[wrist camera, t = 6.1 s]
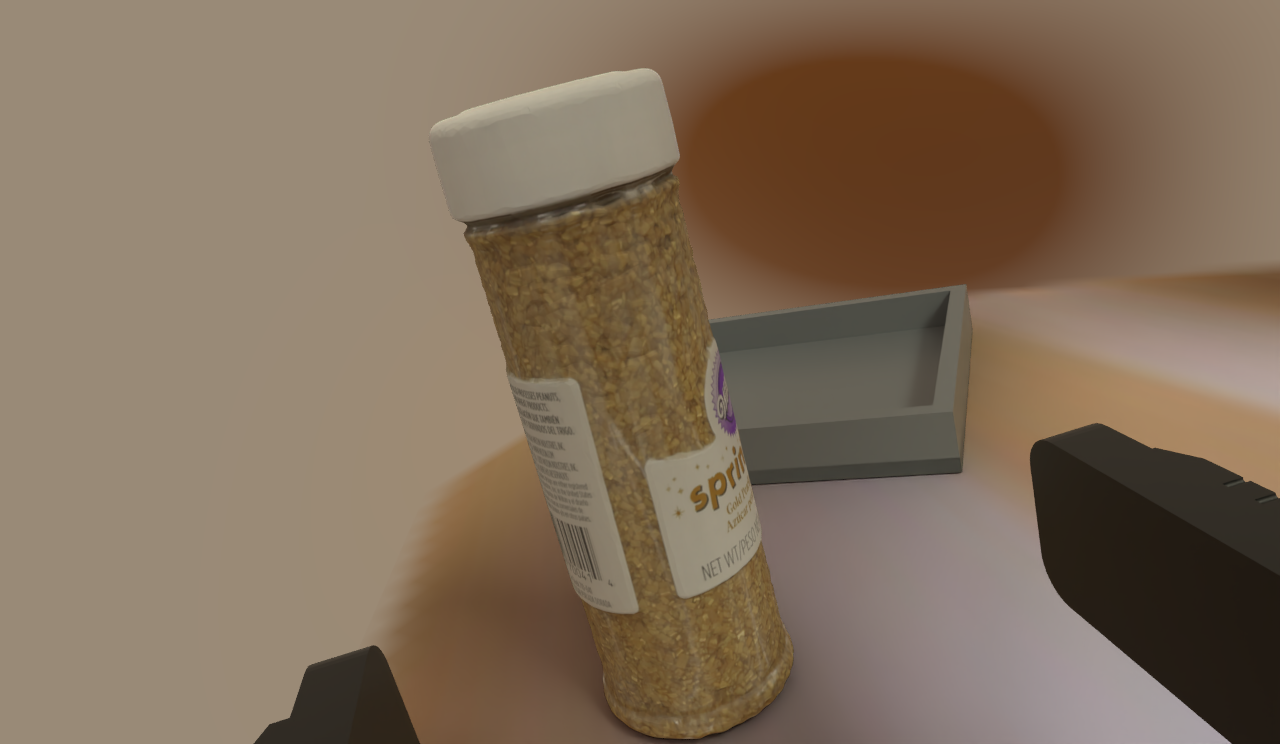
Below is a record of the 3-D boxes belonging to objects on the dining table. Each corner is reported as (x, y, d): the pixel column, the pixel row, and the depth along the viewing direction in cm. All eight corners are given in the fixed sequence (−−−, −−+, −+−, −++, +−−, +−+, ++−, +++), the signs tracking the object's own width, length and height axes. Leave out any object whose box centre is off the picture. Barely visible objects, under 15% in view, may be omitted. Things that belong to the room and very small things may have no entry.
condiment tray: (972, 329, 38) (966, 284, 37) (961, 472, 27) (952, 411, 26) (687, 362, 43) (678, 324, 43) (579, 494, 32) (564, 444, 32)
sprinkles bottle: (822, 713, 19) (674, 52, 15) (612, 774, 19) (404, 124, 15) (769, 599, 23) (643, 65, 19) (598, 647, 23) (435, 120, 19)
